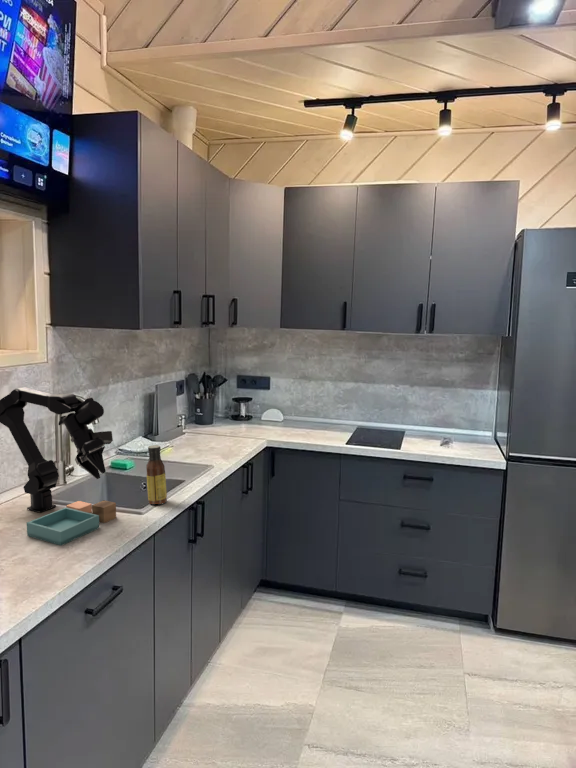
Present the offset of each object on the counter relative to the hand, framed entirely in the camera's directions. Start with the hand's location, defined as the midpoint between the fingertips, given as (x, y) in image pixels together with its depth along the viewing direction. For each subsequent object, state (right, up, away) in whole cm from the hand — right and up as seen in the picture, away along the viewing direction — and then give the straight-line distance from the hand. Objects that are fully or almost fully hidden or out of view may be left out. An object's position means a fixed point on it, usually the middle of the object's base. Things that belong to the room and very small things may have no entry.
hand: (101, 475), depth 166 cm
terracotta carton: (-10, -14, +8) cm, 19 cm away
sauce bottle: (+13, -12, +18) cm, 25 cm away
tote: (-9, -15, -7) cm, 19 cm away
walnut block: (0, -14, +3) cm, 15 cm away
